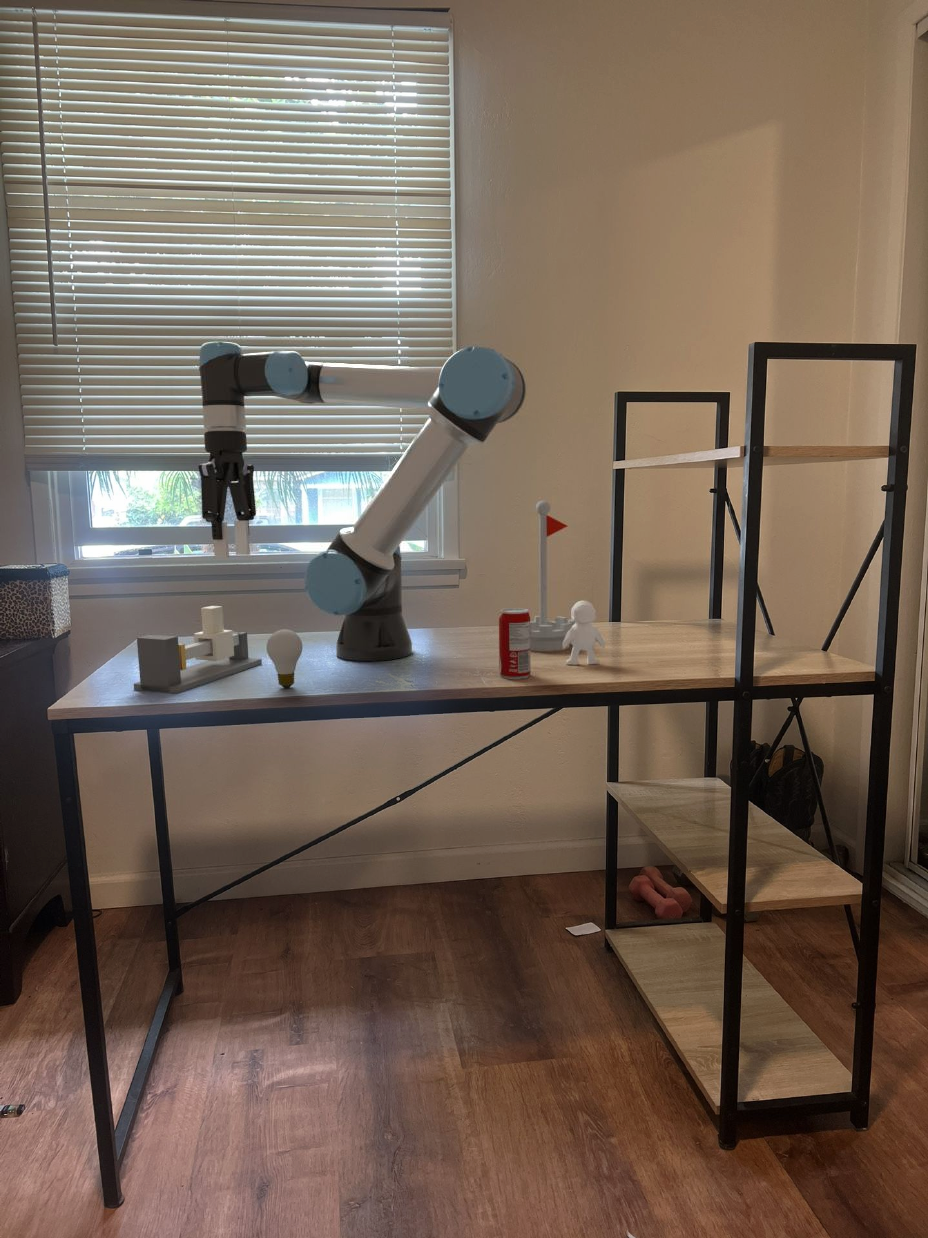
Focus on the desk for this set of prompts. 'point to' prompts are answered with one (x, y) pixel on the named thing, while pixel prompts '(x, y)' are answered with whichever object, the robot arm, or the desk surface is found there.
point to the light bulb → (284, 654)
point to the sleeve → (215, 634)
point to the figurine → (583, 633)
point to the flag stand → (541, 630)
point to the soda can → (514, 643)
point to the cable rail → (168, 663)
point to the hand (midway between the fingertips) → (232, 555)
